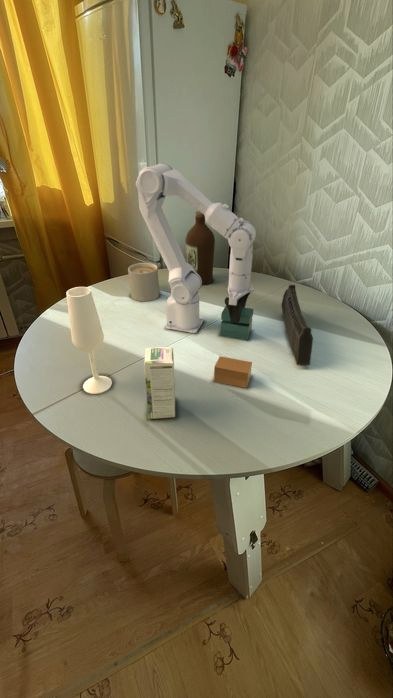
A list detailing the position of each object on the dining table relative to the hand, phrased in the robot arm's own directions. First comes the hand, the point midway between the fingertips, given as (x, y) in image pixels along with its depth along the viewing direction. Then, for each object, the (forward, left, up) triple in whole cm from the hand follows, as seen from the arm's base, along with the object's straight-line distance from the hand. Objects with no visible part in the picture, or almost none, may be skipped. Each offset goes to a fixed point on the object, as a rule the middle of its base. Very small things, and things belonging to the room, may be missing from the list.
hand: (237, 317), depth 100 cm
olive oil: (-22, +34, -6) cm, 41 cm away
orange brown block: (+4, -21, -3) cm, 22 cm away
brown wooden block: (+4, -21, -5) cm, 22 cm away
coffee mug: (-37, +17, -6) cm, 41 cm away
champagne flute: (-26, -33, -6) cm, 42 cm away
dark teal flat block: (0, 0, 0) cm, 0 cm away
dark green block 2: (0, 0, -5) cm, 5 cm away
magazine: (+16, +3, -6) cm, 17 cm away
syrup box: (-8, -36, -6) cm, 37 cm away
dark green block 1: (0, 0, -3) cm, 3 cm away
